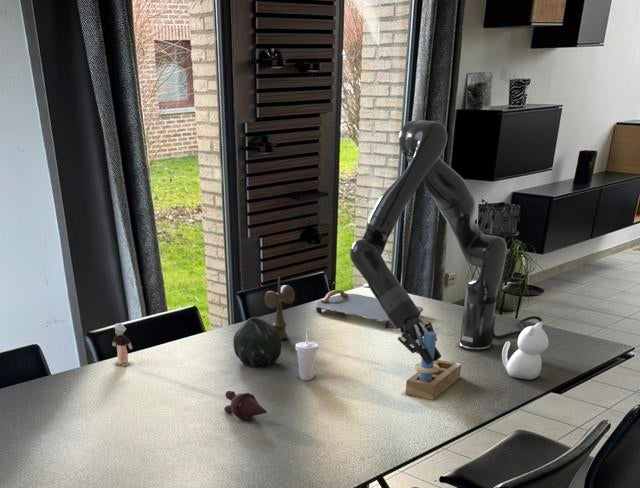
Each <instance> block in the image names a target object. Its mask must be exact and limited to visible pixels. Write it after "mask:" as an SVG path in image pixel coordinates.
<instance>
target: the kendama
mask: <svg viewBox="0 0 640 488" xmlns="http://www.w3.org/2000/svg"><path fill="white" fill-rule="evenodd" d="M295 298H296V294H295V290H294V288H293V287H292V286H291V285H289V284H284V285H281V277H280V276H278V278H277V292H275V291H273V290H268V291H267V292H266V293H265V294H264V304H265V305H266V307H267V308H268V309H276V314H275V318H274V319H275V320H274V322H273V324H272V326H274V327H275V328H276V329H277V330H278V332H279V335H280V338H281V341H282V340H286V339H287V338H289V337H288V336H289V335H288V334H287V332H286V326H287V322H286V321H285V319H284V313H283V305H282V303H284V304H287V305H289V304H292V303H293V302H294V301H295Z"/></svg>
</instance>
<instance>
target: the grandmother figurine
mask: <svg viewBox="0 0 640 488" xmlns="http://www.w3.org/2000/svg"><path fill="white" fill-rule="evenodd" d="M113 327H114V333H115V335H114V337H113V339H112V347H116V352H117V353H116V355H117V361H115V363H114V364H115V365H116V366H119V365H121V367H128V366H129V365H130V362H129V355H128V349H129V350H132V349H133V346H132V343H131V341H130V339H129V338H128V337H126V336H125V335H124V334H125V331H127V328H126V326H124V325H123V324H122V323H115V324H114V325H113ZM127 346H128V349H127Z"/></svg>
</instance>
